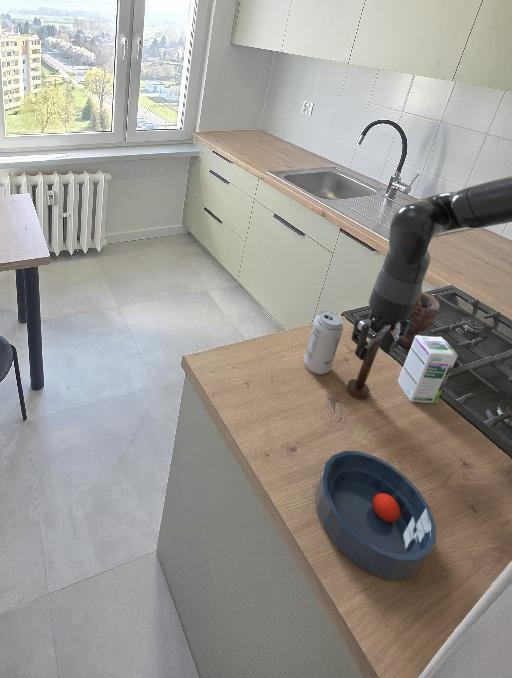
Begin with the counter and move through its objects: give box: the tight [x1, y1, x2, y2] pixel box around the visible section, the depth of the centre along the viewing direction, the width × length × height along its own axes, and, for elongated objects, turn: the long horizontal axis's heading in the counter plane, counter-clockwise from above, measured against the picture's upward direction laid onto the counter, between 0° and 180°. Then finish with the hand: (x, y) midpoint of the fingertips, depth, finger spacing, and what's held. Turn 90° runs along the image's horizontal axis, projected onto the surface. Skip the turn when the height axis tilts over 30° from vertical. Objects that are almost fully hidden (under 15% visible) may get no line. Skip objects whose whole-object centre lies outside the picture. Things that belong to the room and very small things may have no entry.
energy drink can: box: [303, 310, 344, 376], centre depth 99 cm, size 6×6×15 cm
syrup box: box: [397, 335, 459, 404], centre depth 93 cm, size 6×6×14 cm
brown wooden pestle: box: [346, 338, 382, 401], centre depth 92 cm, size 4×4×16 cm
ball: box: [372, 493, 400, 523], centre depth 71 cm, size 4×4×4 cm
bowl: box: [314, 450, 437, 580], centre depth 70 cm, size 16×16×6 cm
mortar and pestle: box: [395, 287, 441, 348], centre depth 107 cm, size 12×9×20 cm
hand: (372, 353), depth 90 cm, fingers open, 6 cm apart
